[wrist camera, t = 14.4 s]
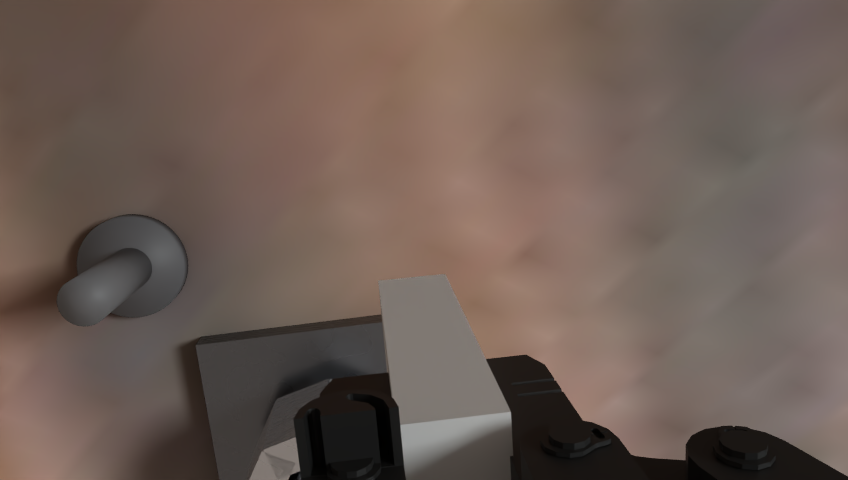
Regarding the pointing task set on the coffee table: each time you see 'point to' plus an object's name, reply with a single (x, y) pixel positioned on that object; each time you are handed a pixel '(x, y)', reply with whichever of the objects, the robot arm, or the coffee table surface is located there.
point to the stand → (124, 271)
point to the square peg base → (276, 376)
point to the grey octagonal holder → (281, 437)
